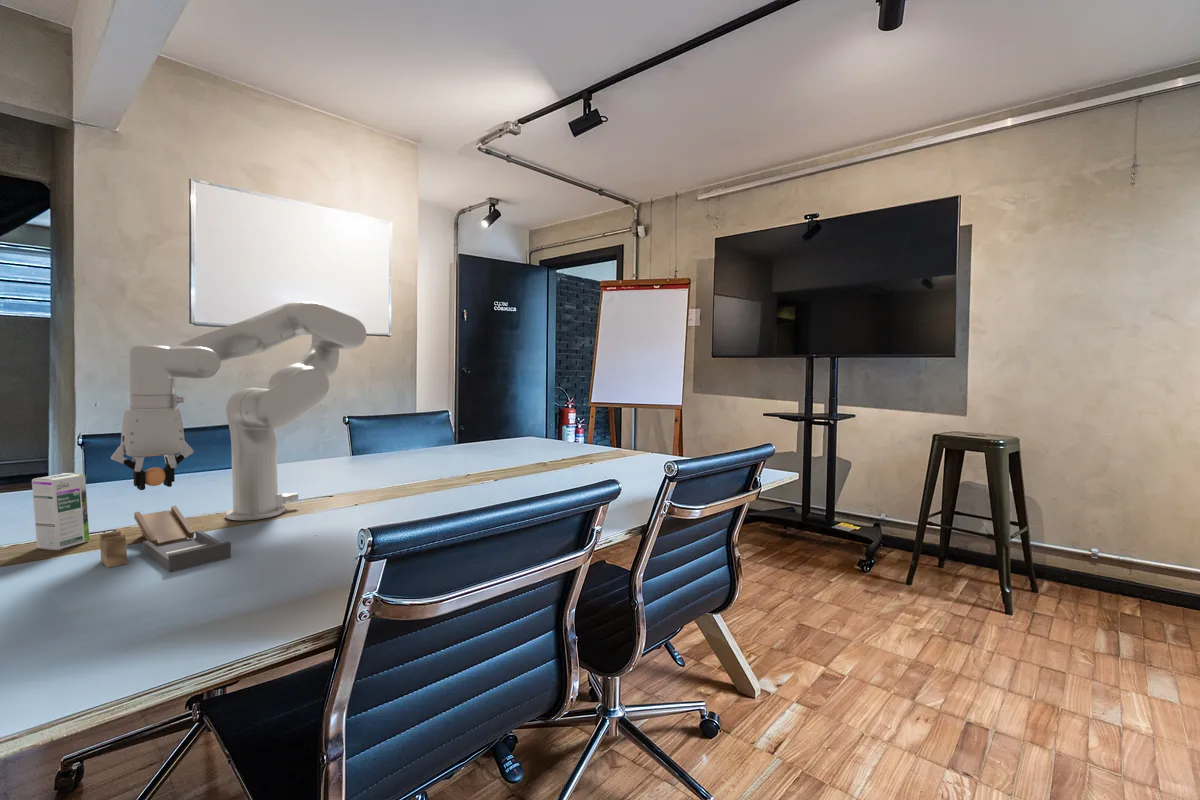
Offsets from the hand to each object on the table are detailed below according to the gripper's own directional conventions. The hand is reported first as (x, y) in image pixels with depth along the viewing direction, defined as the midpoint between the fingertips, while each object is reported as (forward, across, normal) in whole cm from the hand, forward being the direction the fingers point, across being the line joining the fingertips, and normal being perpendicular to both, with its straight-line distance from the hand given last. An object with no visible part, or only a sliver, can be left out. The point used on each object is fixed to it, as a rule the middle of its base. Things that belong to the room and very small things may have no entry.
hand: (154, 486), depth 117 cm
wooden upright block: (+11, +9, +12) cm, 19 cm away
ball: (-2, 0, 0) cm, 2 cm away
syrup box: (+11, +13, -8) cm, 19 cm away
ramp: (+11, -1, +3) cm, 12 cm away
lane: (+11, -1, +17) cm, 20 cm away
